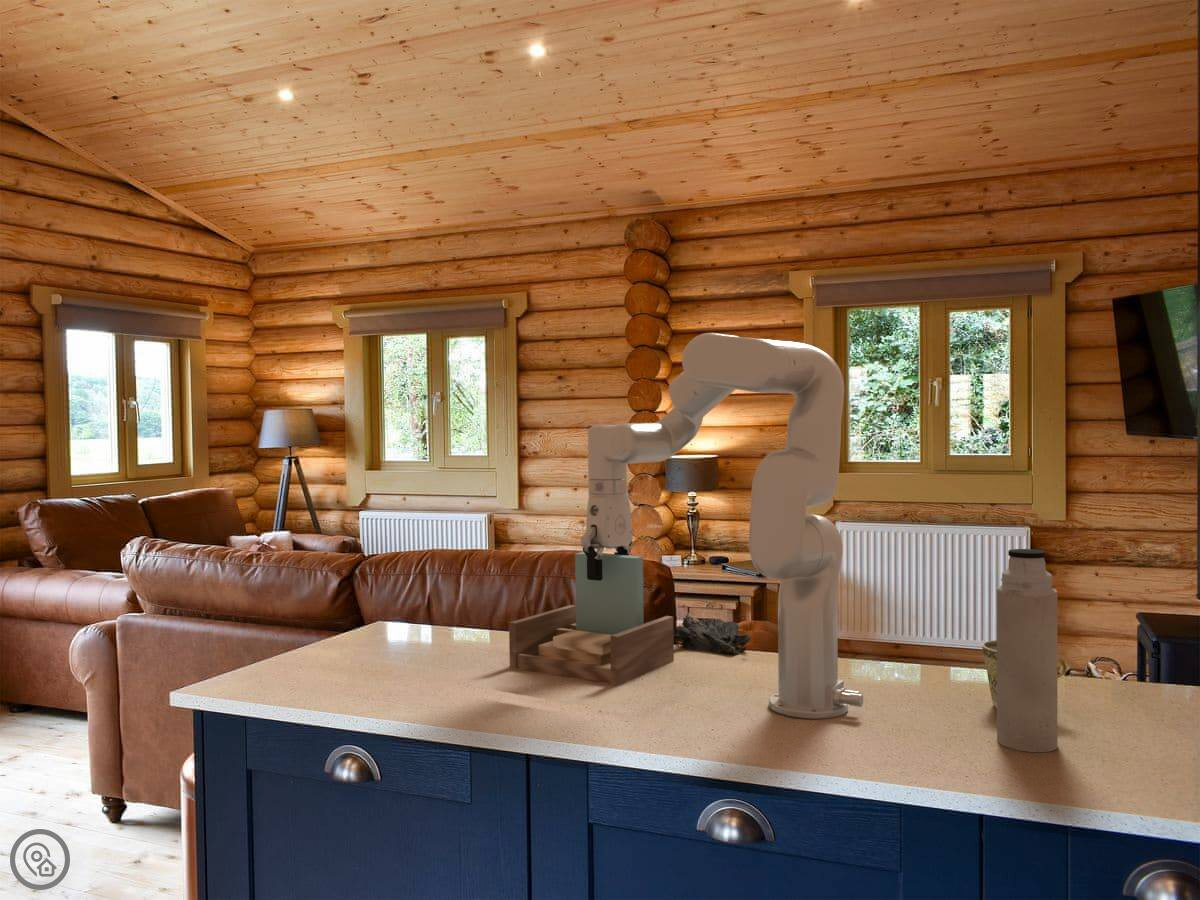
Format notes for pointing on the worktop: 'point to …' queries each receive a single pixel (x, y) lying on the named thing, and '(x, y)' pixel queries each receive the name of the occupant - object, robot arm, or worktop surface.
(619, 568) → the teal sheet
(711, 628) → the mineral specimen
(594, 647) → the offcut stack
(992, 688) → the ceramic cup
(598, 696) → the worktop surface
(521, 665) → the walnut rack
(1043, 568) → the thermos bottle
